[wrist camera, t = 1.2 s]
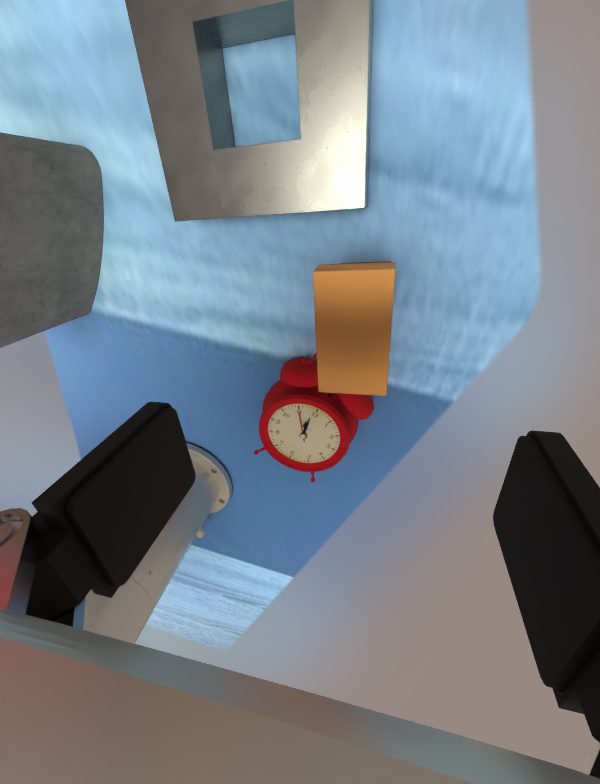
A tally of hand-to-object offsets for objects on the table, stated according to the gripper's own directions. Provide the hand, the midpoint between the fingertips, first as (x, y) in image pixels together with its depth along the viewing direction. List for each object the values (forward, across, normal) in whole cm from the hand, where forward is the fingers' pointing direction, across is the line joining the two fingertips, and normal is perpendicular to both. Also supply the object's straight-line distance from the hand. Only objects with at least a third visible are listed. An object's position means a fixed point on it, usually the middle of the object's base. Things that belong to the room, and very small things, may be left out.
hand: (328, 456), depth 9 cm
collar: (+22, +7, -12) cm, 26 cm away
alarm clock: (+22, +5, +12) cm, 26 cm away
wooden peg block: (+22, 0, 0) cm, 22 cm away
